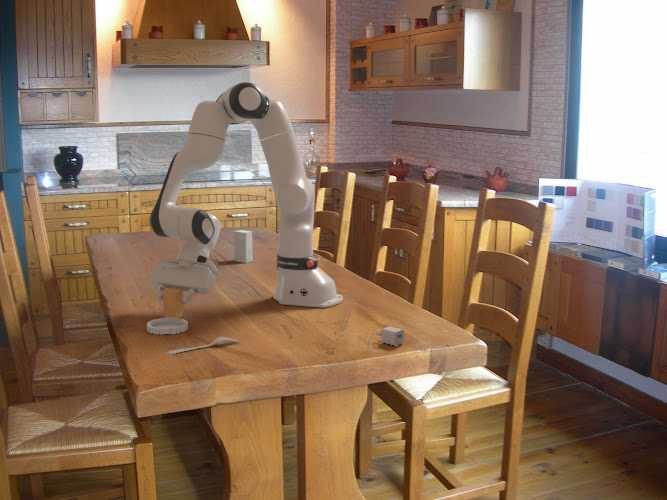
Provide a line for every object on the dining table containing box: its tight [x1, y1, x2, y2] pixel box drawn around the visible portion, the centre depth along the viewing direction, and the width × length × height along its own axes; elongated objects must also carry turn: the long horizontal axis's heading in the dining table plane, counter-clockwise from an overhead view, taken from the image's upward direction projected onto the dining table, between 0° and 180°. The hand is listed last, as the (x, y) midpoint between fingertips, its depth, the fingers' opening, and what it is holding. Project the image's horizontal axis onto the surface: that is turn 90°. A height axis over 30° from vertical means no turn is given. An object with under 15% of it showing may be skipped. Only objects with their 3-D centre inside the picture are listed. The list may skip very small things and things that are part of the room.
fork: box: [166, 336, 241, 355], centre depth 200 cm, size 3×21×3 cm, turn 122°
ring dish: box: [146, 317, 189, 336], centre depth 215 cm, size 11×11×2 cm
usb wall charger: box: [375, 326, 405, 347], centre depth 206 cm, size 4×7×4 cm, turn 48°
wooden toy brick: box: [163, 288, 184, 318], centre depth 227 cm, size 4×4×8 cm
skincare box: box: [233, 229, 254, 264], centre depth 302 cm, size 6×4×12 cm
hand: (171, 301), depth 226 cm, fingers open, 7 cm apart
